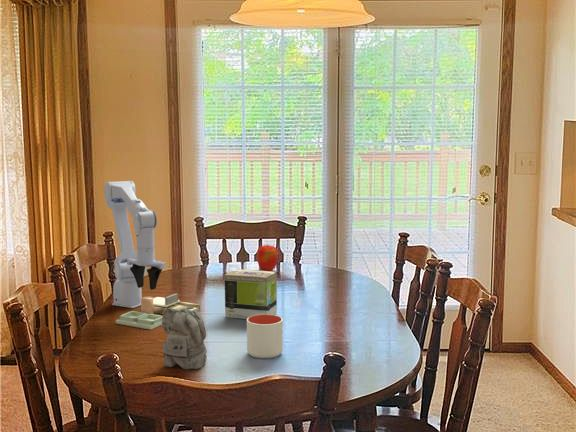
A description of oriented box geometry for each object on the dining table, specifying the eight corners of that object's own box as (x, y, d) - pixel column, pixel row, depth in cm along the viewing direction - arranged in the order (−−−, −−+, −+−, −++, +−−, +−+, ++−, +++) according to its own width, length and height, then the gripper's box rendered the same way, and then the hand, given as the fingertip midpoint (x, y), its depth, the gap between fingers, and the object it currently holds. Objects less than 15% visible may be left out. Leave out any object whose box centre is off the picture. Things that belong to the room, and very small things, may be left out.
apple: (257, 273, 290) (257, 245, 288) (256, 269, 298) (255, 241, 297) (279, 273, 290) (279, 245, 289) (277, 268, 299) (277, 241, 298)
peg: (138, 316, 228) (138, 298, 228) (146, 313, 232) (146, 296, 231) (148, 318, 227) (148, 300, 226) (156, 314, 230) (155, 297, 229)
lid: (143, 303, 236) (142, 295, 236) (157, 298, 243) (157, 289, 243) (165, 307, 232) (165, 298, 231) (180, 301, 239) (179, 293, 238)
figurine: (174, 355, 191) (173, 303, 189) (211, 359, 188) (211, 306, 186) (157, 368, 182) (155, 313, 180) (196, 373, 179) (195, 317, 176)
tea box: (277, 313, 232) (277, 270, 230) (266, 322, 222) (266, 277, 220) (236, 309, 237) (235, 267, 234) (224, 317, 227) (223, 273, 225)
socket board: (115, 323, 221) (115, 316, 220) (134, 316, 229) (134, 309, 228) (150, 329, 214) (150, 322, 214) (168, 321, 222) (168, 315, 222)
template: (142, 310, 235) (142, 305, 235) (160, 303, 244) (160, 298, 244) (183, 317, 228) (182, 311, 227) (200, 309, 236) (200, 304, 236)
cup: (246, 348, 198) (246, 314, 196) (281, 347, 198) (281, 313, 197) (247, 360, 188) (247, 325, 186) (284, 359, 189) (284, 324, 187)
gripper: (120, 247, 226) (121, 288, 228) (155, 251, 219) (156, 293, 221) (134, 244, 232) (135, 283, 234) (169, 248, 225) (170, 288, 227)
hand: (146, 288), depth 228 cm, fingers open, 5 cm apart
